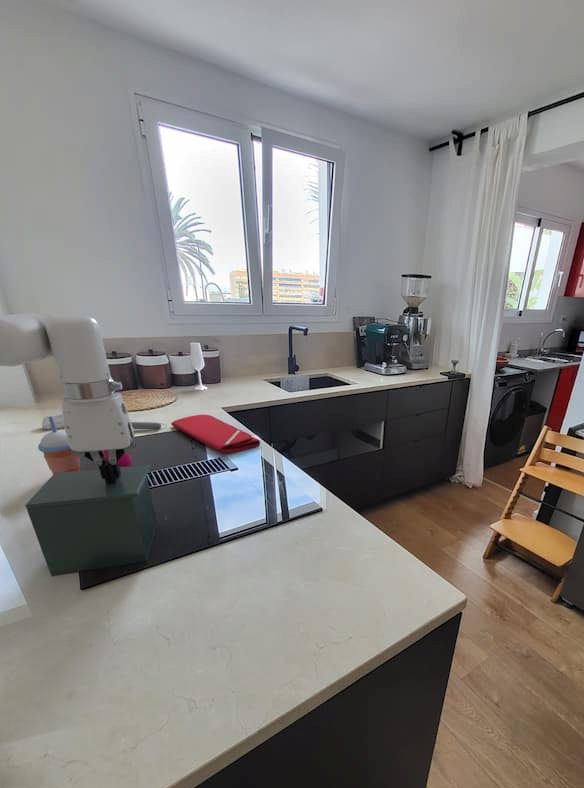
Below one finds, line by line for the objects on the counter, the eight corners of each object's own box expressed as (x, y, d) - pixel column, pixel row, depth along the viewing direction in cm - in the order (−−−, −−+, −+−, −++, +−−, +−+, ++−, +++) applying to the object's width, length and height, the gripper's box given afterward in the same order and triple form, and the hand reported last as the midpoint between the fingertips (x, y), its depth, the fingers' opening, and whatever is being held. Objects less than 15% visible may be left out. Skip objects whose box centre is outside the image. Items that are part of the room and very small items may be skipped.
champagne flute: (201, 390, 212) (195, 344, 202) (192, 389, 214) (185, 343, 204) (210, 387, 217) (204, 343, 208) (200, 386, 219) (194, 342, 210)
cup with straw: (43, 478, 112) (23, 417, 105) (78, 467, 119) (62, 410, 112) (56, 487, 107) (36, 424, 100) (93, 475, 114) (76, 416, 107)
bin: (157, 526, 91) (145, 468, 85) (147, 561, 79) (131, 497, 73) (75, 536, 87) (56, 476, 81) (51, 576, 75) (26, 509, 69)
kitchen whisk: (165, 431, 150) (162, 415, 148) (66, 436, 144) (61, 419, 141) (168, 426, 156) (166, 411, 153) (73, 430, 149) (69, 414, 147)
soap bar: (48, 438, 150) (37, 426, 146) (46, 429, 154) (36, 418, 150) (76, 427, 153) (66, 415, 149) (74, 418, 157) (65, 407, 153)
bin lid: (150, 468, 85) (149, 464, 85) (137, 497, 74) (137, 493, 73) (55, 476, 81) (54, 472, 80) (26, 508, 69) (24, 505, 68)
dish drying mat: (209, 419, 166) (208, 410, 164) (261, 445, 140) (261, 435, 138) (171, 427, 155) (169, 418, 154) (220, 457, 129) (219, 446, 128)
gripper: (139, 383, 76) (157, 469, 83) (48, 386, 71) (75, 477, 79) (131, 392, 69) (151, 485, 76) (30, 396, 65) (62, 494, 72)
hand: (112, 480), depth 78 cm, fingers closed
